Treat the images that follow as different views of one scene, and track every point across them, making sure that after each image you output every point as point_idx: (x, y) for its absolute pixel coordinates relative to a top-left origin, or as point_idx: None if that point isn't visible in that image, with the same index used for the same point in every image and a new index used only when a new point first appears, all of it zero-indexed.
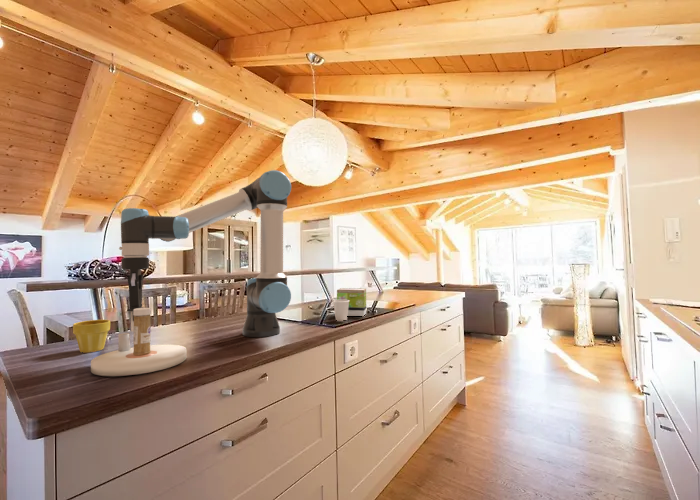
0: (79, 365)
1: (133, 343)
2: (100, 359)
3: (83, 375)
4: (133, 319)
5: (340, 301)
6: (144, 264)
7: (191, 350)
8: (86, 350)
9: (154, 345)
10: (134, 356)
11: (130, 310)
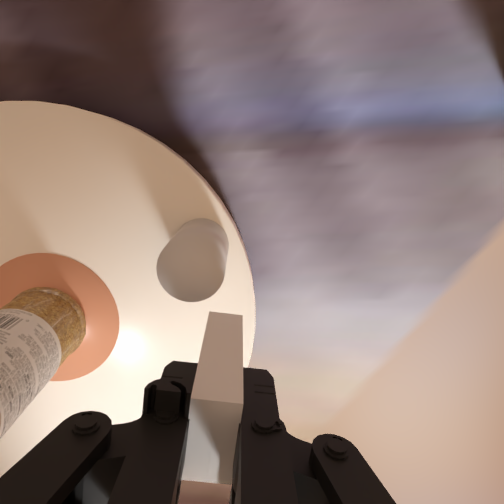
0: (220, 43)
1: (2, 309)
2: (36, 143)
3: (7, 81)
4: (165, 372)
5: None
6: None
7: (219, 483)
8: None
9: None
10: (10, 290)
11: (149, 403)
